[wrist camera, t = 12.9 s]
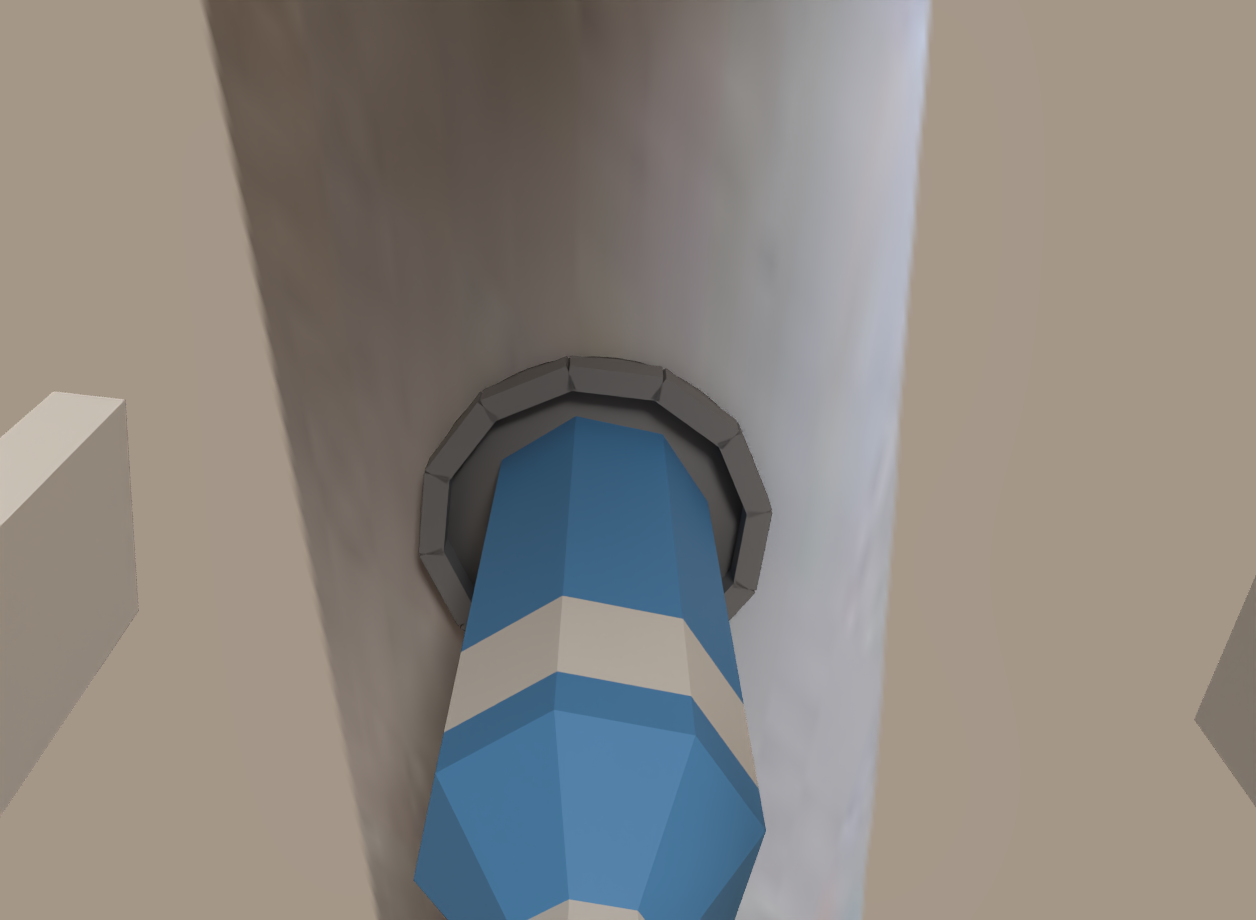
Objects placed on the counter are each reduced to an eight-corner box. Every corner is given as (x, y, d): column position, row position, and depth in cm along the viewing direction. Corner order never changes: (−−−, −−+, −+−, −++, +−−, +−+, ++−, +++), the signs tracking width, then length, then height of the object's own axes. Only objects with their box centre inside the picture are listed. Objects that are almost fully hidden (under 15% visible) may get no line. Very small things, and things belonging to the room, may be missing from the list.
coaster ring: (438, 336, 45) (432, 349, 44) (790, 379, 46) (796, 393, 45) (417, 639, 51) (411, 659, 49) (731, 672, 52) (735, 693, 50)
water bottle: (509, 630, 50) (424, 1202, 27) (461, 434, 46) (316, 906, 24) (722, 598, 50) (819, 1152, 27) (691, 397, 46) (772, 842, 23)
